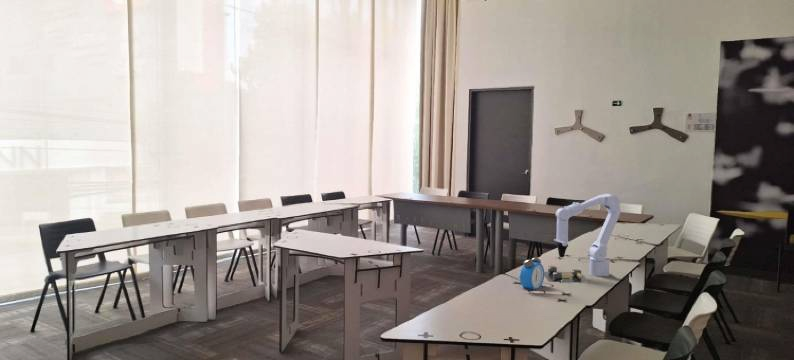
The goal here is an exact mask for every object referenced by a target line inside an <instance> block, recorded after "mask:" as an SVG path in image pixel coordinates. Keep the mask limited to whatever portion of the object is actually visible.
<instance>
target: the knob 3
mask: <svg viewBox="0 0 794 360" xmlns="http://www.w3.org/2000/svg"><path fill="white" fill-rule="evenodd" d="M571 271H572V274H573V277H575V278H582V275H583V274H582V270H581V269H572V270H571ZM581 274H582V275H581Z"/></svg>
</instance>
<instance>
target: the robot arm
mask: <svg viewBox="0 0 794 360" xmlns="http://www.w3.org/2000/svg"><path fill="white" fill-rule="evenodd" d="M598 205H599V206H600V205H601V206H604V207H605V209H606V212H607V213H608V214H607V215H606V218H605V220H604V222H603V225H602V228H601V230H600V232H599V233H598V236H597V239H596V240H595V241H593V243H592V244H591V246H590V247H589V248H588V249H587V251H588V252H587V253H588V255H589V270H588V271H589V272H588V274H589V275H590V276H595V277H609V276H610V261H609V260H608V259H606V257H607V251H608V246H607V245H608V242H609V240H610V238H611V235H612V233H613V231H614V229H615V226H616V225H617V222H618V219H619V217H620V215H621V207H620V206H621V200H620V199H619V197H618V196H617V195H615V194H610V193H607V192H606V193H603V194H599V195H597V196H594V197H592V198H590V199H588V200H586V201H584V202H581V203H580V202H574V201H573V202H572V204H570V205H565V206H563V208H561V207H559V208H558V209H557V210H556V212H555V213H554V214H555V217H556V236H555V237H556V238H554V239H553V241H554V242H556V243H555V246H556V248H557V252H558V256H559V257H560V258H565V254H566V250H567V249H568V247H569V244H568V242H569V219H570V218H571V217H574V216H576V215H579V214H581V213H583V211H584V210H585V209H589V208H591V207H594V206H598Z"/></svg>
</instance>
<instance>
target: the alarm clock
mask: <svg viewBox="0 0 794 360" xmlns="http://www.w3.org/2000/svg"><path fill="white" fill-rule="evenodd" d="M522 264H523V265H522V267H521V269H520V273H519V274H520V275H519V280H520V281H519V282H520V285H521V287H523V288H525V289H529V290H531V292H533V291H534V290H537V289H538V288H541V287H542V285H543V283H544V279H545V276H544V272H545V269H544V265H543V264H542V260H541V259H540V258H538V257H537V256H536V257H532V258H531V259H525V260H524V261H523V263H522Z"/></svg>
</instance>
